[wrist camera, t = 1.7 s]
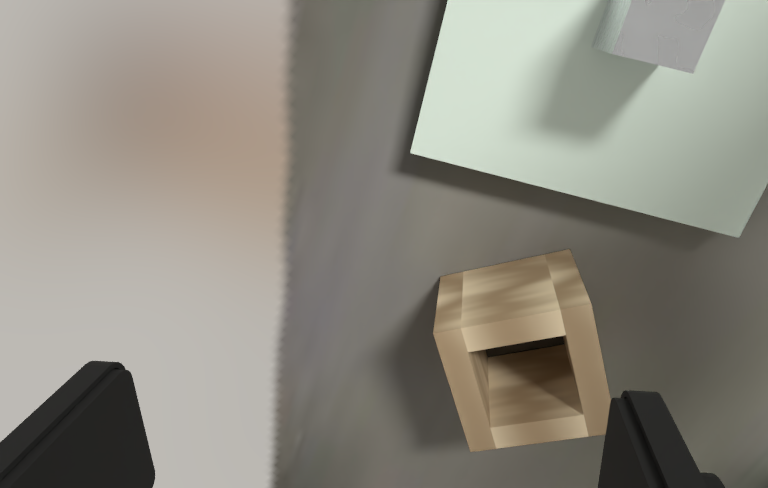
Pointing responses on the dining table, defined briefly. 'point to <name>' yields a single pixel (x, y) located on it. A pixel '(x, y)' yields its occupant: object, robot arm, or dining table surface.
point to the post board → (608, 101)
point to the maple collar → (522, 353)
